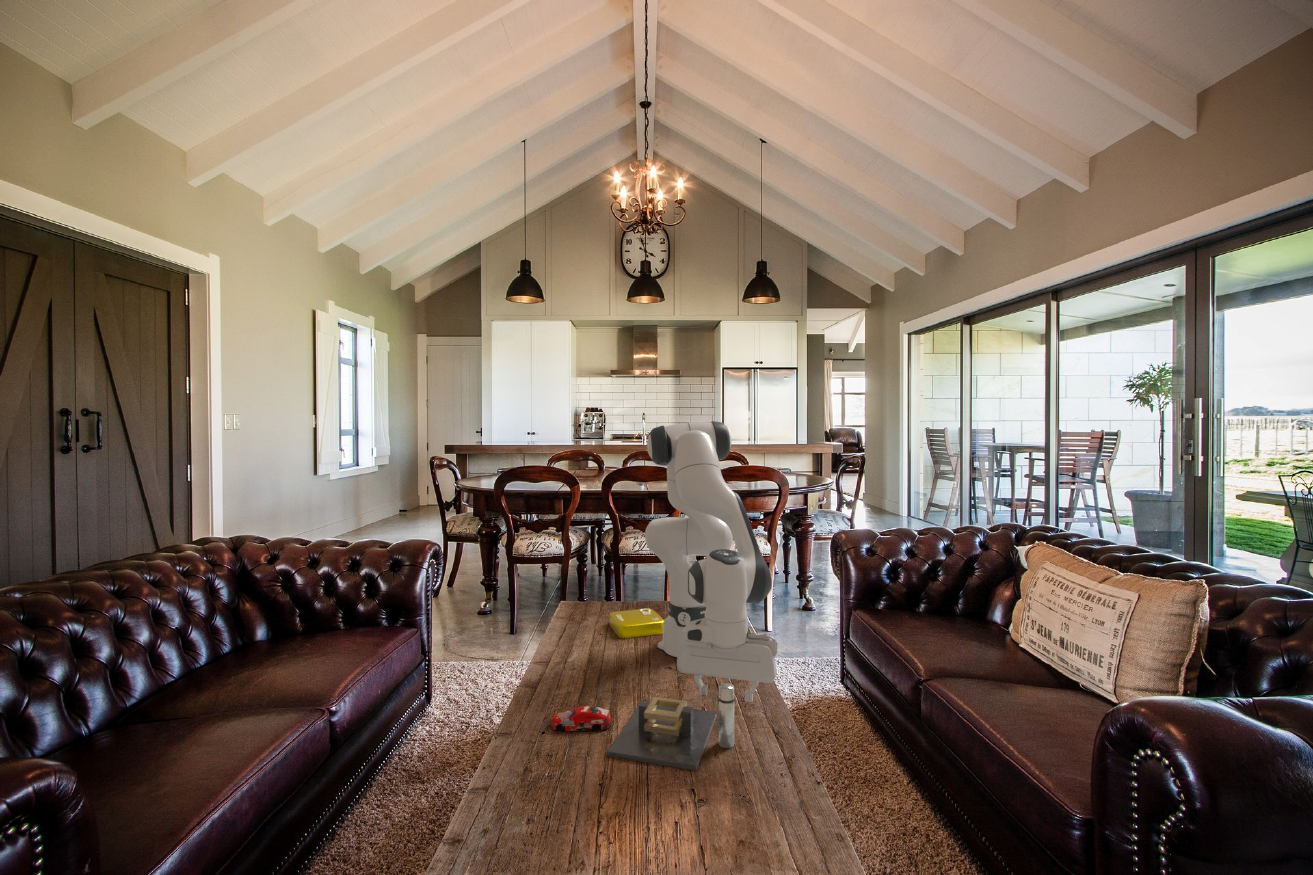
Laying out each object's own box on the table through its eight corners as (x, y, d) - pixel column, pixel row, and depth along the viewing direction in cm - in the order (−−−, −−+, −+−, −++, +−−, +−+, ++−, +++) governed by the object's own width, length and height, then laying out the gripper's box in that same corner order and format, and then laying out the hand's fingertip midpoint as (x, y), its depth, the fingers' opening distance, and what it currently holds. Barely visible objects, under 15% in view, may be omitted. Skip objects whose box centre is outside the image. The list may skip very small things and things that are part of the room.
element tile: (608, 624, 197) (608, 610, 197) (651, 620, 202) (651, 606, 201) (620, 640, 183) (620, 624, 182) (666, 634, 187) (666, 619, 187)
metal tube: (719, 738, 124) (719, 682, 124) (735, 740, 123) (736, 683, 123) (716, 747, 121) (716, 688, 120) (733, 749, 120) (733, 690, 120)
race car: (548, 733, 127) (548, 715, 127) (552, 721, 132) (552, 703, 132) (610, 733, 127) (609, 714, 127) (611, 720, 132) (611, 702, 132)
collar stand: (641, 705, 138) (641, 680, 138) (716, 716, 133) (716, 689, 133) (607, 756, 117) (607, 725, 117) (696, 770, 112) (696, 738, 112)
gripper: (778, 630, 121) (778, 697, 121) (682, 621, 127) (682, 685, 127) (776, 640, 115) (775, 711, 115) (674, 630, 121) (674, 698, 121)
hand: (725, 697), depth 121 cm, fingers open, 8 cm apart
